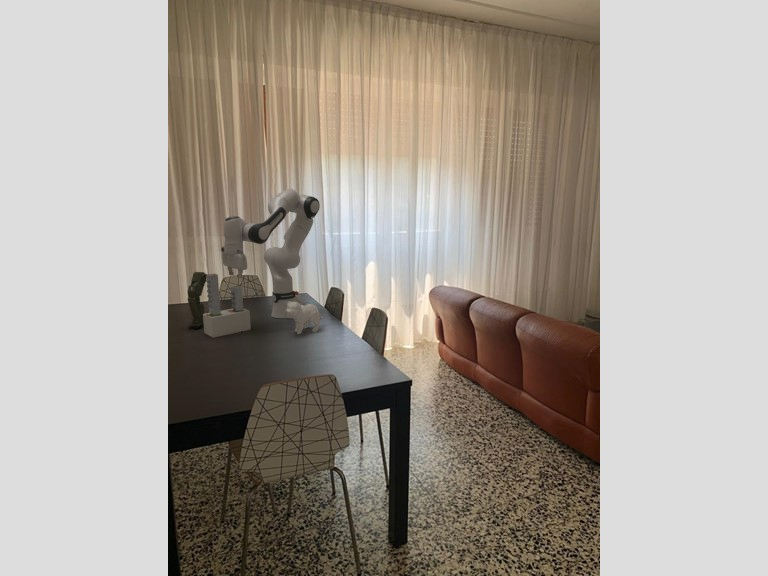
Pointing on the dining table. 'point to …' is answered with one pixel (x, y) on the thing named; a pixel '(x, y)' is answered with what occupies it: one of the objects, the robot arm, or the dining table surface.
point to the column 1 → (213, 295)
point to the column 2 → (237, 299)
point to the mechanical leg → (196, 299)
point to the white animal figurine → (303, 315)
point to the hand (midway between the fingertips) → (235, 276)
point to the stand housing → (226, 323)
